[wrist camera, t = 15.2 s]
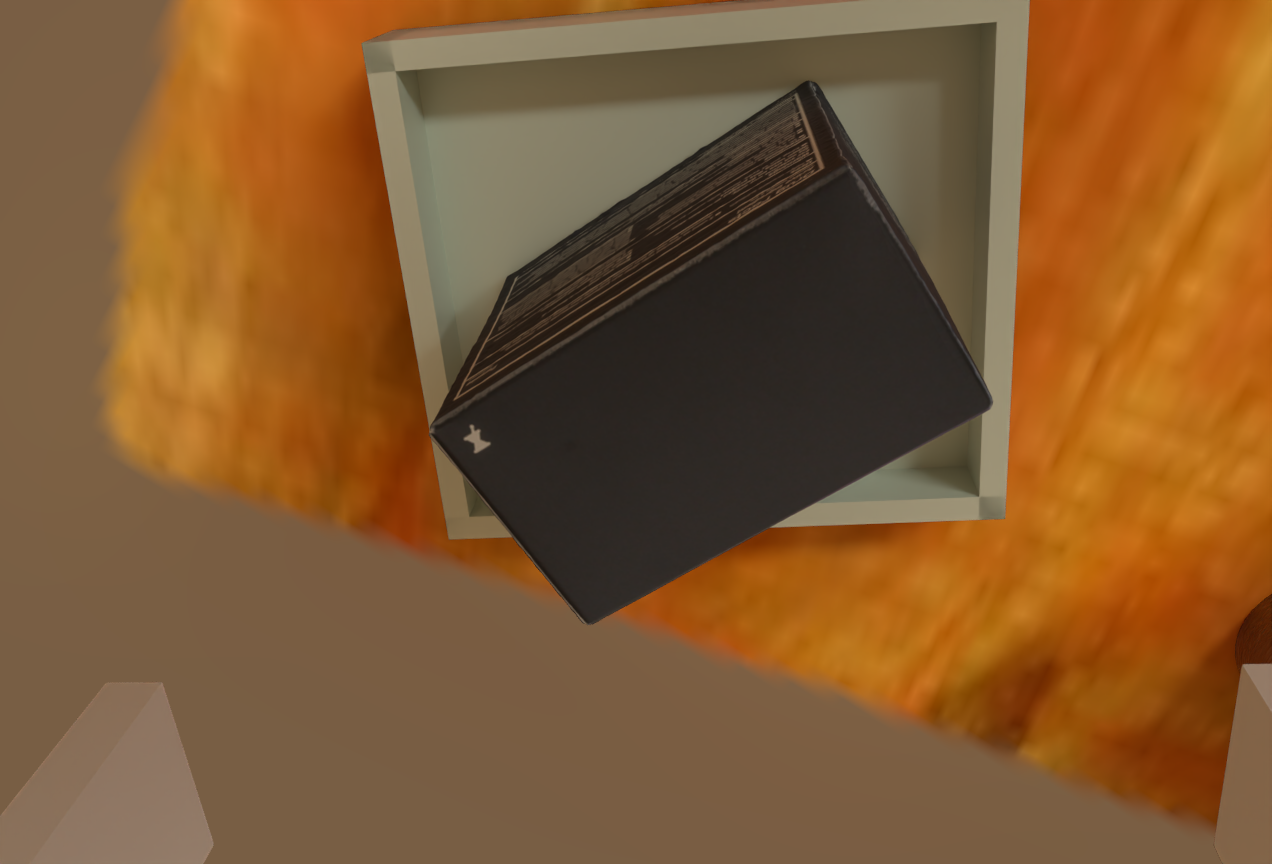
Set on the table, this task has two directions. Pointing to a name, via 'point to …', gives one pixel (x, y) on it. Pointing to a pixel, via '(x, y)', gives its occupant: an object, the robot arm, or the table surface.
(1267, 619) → the grey cylinder
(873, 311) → the small box
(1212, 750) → the table surface
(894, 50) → the tray
